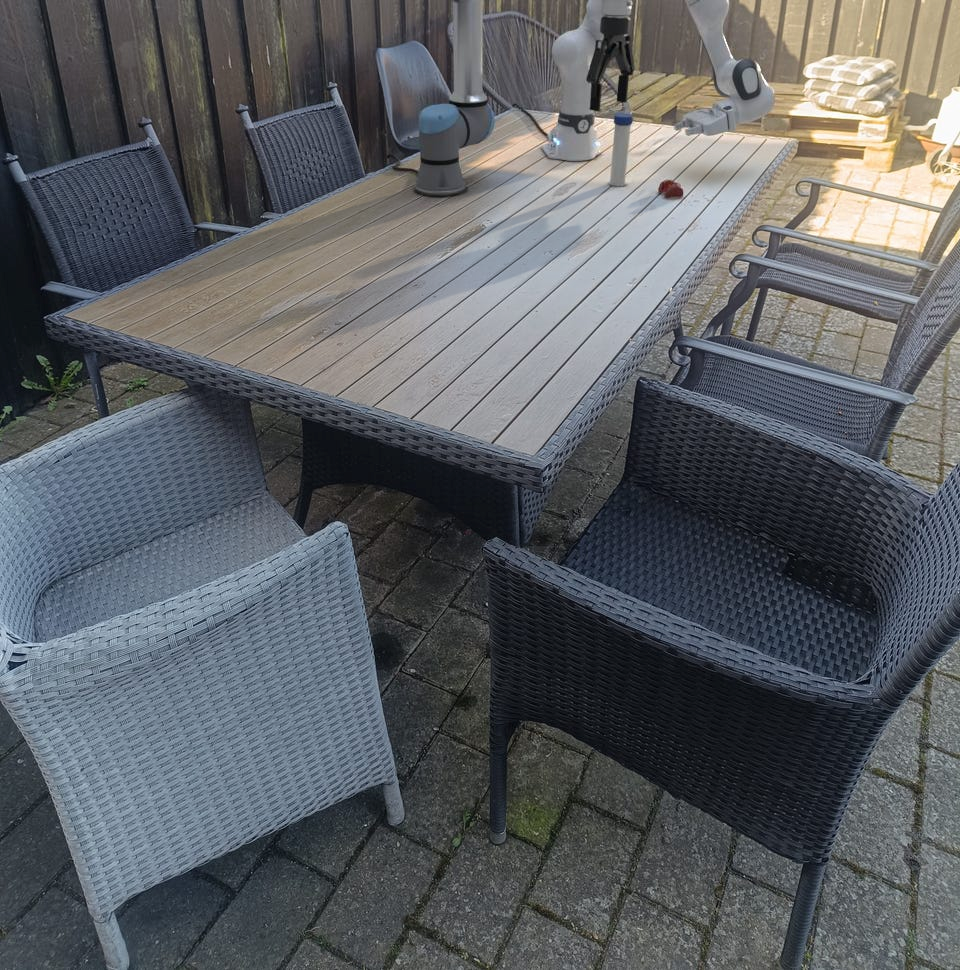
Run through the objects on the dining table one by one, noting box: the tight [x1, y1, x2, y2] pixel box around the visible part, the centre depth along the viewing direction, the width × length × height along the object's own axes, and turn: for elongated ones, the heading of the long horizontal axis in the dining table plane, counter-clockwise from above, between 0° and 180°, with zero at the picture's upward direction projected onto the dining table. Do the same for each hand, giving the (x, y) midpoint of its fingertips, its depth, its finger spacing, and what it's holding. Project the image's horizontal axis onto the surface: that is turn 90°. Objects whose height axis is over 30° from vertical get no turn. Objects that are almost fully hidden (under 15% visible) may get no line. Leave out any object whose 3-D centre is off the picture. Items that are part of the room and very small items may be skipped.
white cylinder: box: [609, 124, 632, 187], centre depth 257 cm, size 5×5×20 cm
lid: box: [613, 112, 634, 126], centre depth 252 cm, size 6×6×2 cm
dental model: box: [657, 179, 684, 199], centre depth 253 cm, size 6×4×8 cm
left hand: (608, 106), depth 226 cm, fingers open, 13 cm apart
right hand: (680, 130), depth 261 cm, fingers open, 8 cm apart
